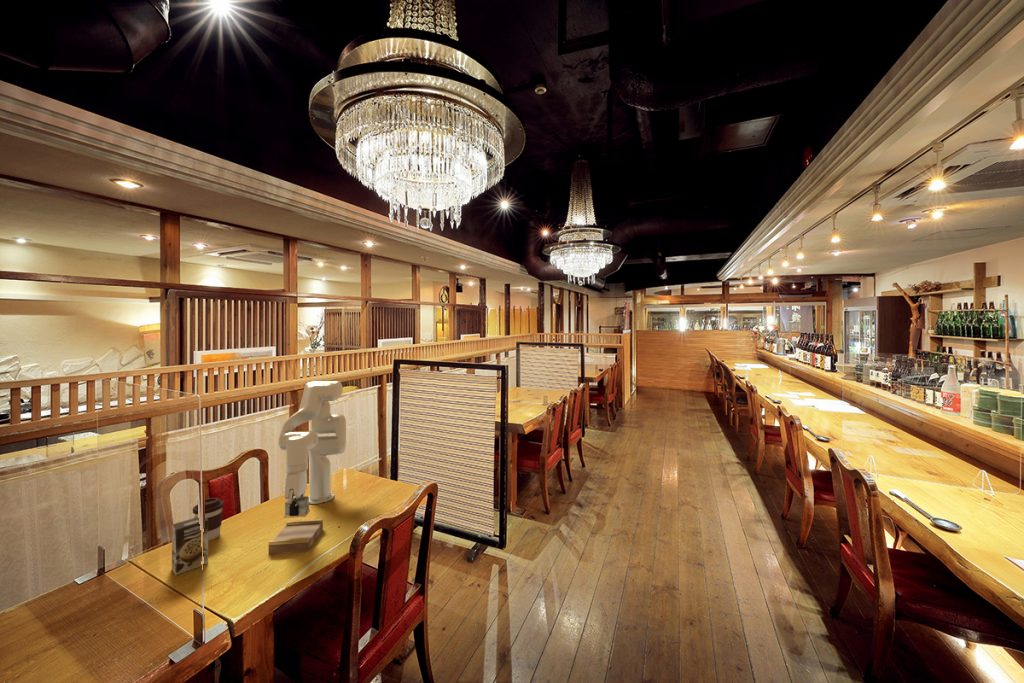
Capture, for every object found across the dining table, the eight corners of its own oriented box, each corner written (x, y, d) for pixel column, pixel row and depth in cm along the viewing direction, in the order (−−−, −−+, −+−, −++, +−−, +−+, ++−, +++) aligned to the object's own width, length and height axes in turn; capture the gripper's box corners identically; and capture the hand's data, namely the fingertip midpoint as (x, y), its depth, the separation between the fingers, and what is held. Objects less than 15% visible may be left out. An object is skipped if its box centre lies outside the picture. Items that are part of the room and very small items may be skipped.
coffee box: (175, 576, 127) (175, 529, 127) (171, 569, 131) (171, 524, 131) (209, 563, 135) (208, 519, 134) (203, 557, 139) (203, 514, 138)
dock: (287, 532, 156) (287, 521, 156) (322, 529, 158) (322, 518, 158) (268, 554, 141) (268, 542, 140) (308, 551, 143) (307, 539, 143)
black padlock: (289, 512, 151) (289, 497, 151) (310, 511, 152) (310, 496, 152) (283, 518, 146) (283, 502, 146) (305, 516, 147) (305, 501, 147)
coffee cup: (210, 544, 147) (210, 506, 147) (186, 544, 147) (185, 506, 147) (230, 531, 157) (229, 496, 157) (207, 530, 157) (206, 495, 157)
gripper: (296, 460, 157) (296, 503, 157) (276, 475, 140) (276, 523, 140) (315, 460, 158) (315, 502, 158) (298, 474, 141) (298, 522, 141)
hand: (297, 511), depth 149 cm, fingers closed on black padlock, 4 cm apart
